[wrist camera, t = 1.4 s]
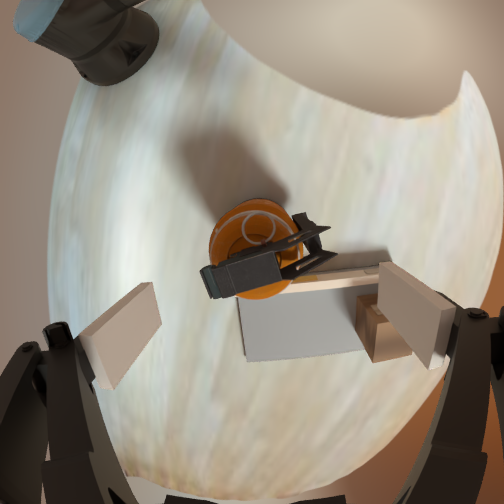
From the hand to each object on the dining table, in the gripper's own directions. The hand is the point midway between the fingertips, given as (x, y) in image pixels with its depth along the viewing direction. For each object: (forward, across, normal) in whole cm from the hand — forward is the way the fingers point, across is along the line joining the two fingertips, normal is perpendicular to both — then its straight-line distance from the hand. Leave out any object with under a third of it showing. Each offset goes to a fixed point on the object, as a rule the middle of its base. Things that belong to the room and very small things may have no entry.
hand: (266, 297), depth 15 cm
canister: (+24, 0, 0) cm, 24 cm away
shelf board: (+24, +7, -14) cm, 28 cm away
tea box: (+23, +15, -14) cm, 31 cm away
